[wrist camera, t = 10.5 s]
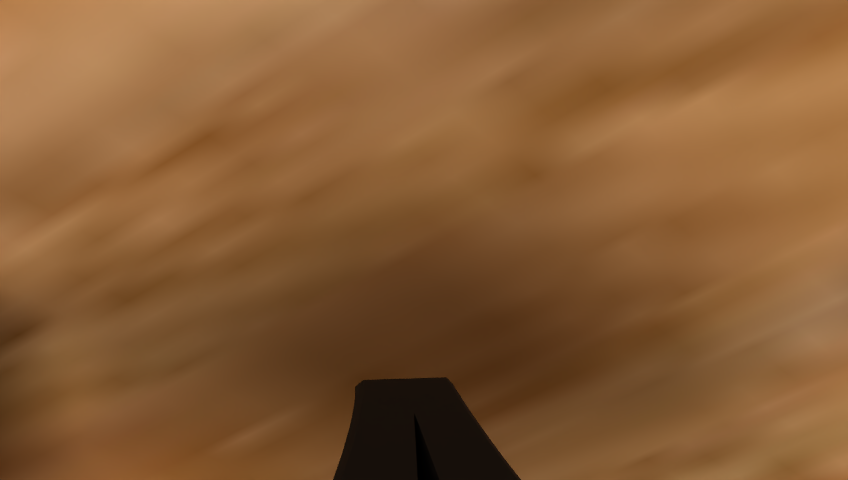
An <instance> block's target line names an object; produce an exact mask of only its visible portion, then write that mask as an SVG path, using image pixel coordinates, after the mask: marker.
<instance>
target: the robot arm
mask: <svg viewBox="0 0 848 480" xmlns="http://www.w3.org/2000/svg"><path fill="white" fill-rule="evenodd" d="M333 480H521V479H520V478H519V477H518V475H517V474H516V473H515V472H514V470H513V469H512V468H511V466H510V465H509V464H508V463H507V461H506V460H505V459H504V458H503V456H502V455H501V453H500V452H499V451H498V449H497V448H496V447H495V445H494V444H493V443H492V441H491V440H490V439H489V437H488V436H487V434H486V433H485V432H484V430H483V429H482V427H481V426H480V425H479V423H478V422H477V420H476V419H475V417H474V416H473V414H472V413H471V412H470V410H469V409H468V407H467V406H466V404H465V403H464V401H463V399H462V398H461V396H460V395H459V393H458V392H457V390H456V389H455V387H454V385H453V384H452V383H451V382H450V381H449V380H448V379H447V378H446V377H445V378H413V379H381V380H363V381H362V382H361V383H359V384H358V385H357V386H356V387H355V403H354V409H353V415H352V419H351V424H350V428H349V432H348V435H347V439H346V442H345V446H344V449H343V453H342V456H341V458H340V461H339V464H338V467H337V470H336V473H335V476H334V479H333Z"/></svg>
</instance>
